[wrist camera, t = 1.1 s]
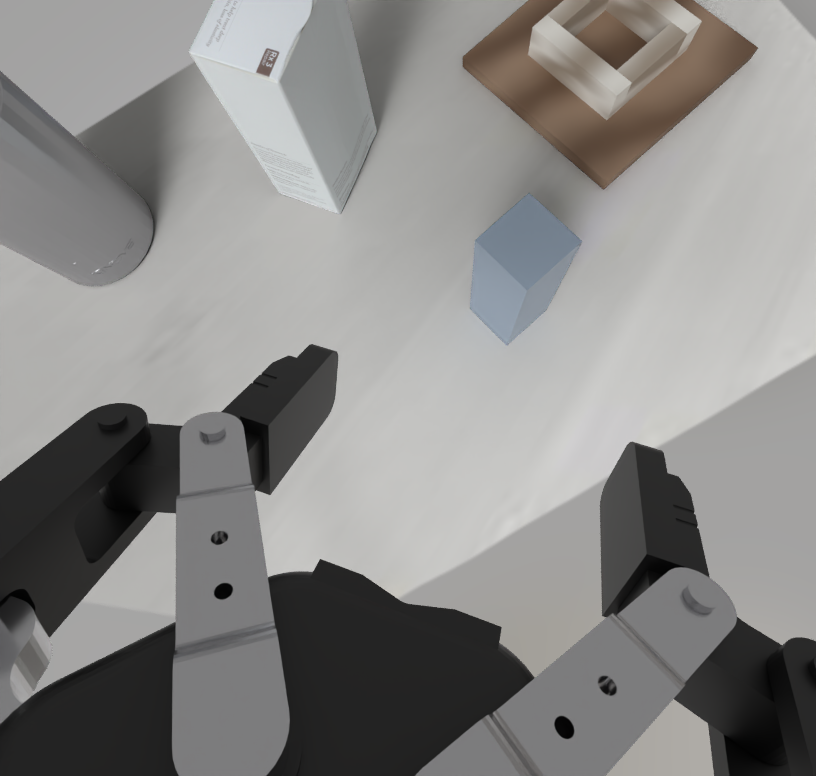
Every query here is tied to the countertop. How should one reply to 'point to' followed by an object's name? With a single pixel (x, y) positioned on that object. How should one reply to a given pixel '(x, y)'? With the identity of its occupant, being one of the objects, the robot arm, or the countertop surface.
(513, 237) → the plug
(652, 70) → the socket board
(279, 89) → the skincare box
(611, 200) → the countertop surface
